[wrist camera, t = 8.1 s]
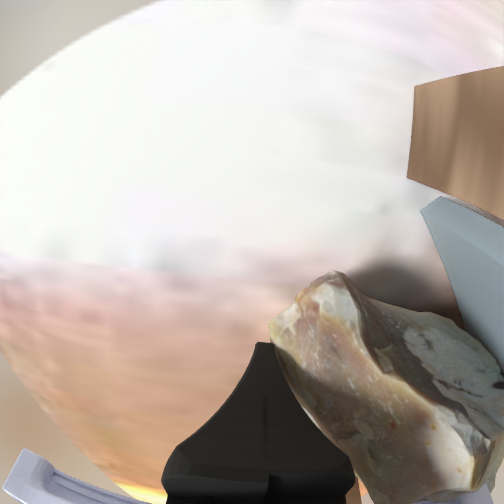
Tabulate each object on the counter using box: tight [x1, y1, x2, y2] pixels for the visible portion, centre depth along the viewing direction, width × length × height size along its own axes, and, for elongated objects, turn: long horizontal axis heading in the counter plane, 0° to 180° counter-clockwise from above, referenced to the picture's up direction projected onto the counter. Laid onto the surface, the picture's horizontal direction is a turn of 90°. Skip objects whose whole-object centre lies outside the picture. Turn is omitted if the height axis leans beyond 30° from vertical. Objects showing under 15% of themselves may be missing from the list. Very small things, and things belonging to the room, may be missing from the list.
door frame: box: [346, 66, 504, 504], centre depth 11 cm, size 25×2×7 cm, turn 176°
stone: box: [268, 271, 504, 504], centre depth 9 cm, size 11×14×10 cm
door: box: [420, 196, 504, 373], centre depth 10 cm, size 16×1×6 cm, turn 37°
